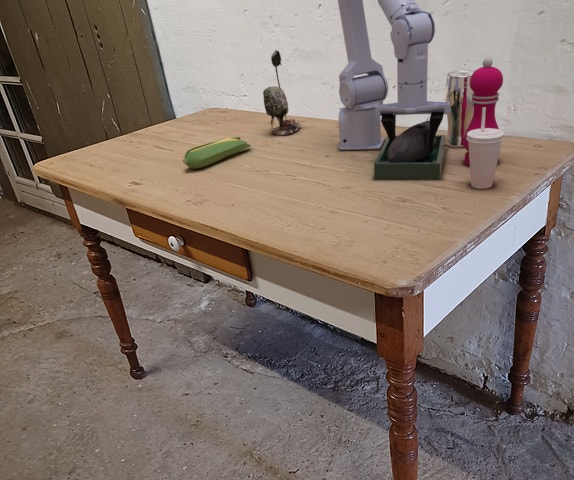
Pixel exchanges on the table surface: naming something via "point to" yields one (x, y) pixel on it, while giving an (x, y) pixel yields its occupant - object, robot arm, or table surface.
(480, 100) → the pepper mill
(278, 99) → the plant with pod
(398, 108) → the robot arm
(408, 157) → the perforated stone tool
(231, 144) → the edible corn
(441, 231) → the table surface
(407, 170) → the dish
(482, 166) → the smoothie
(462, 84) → the beer glass
